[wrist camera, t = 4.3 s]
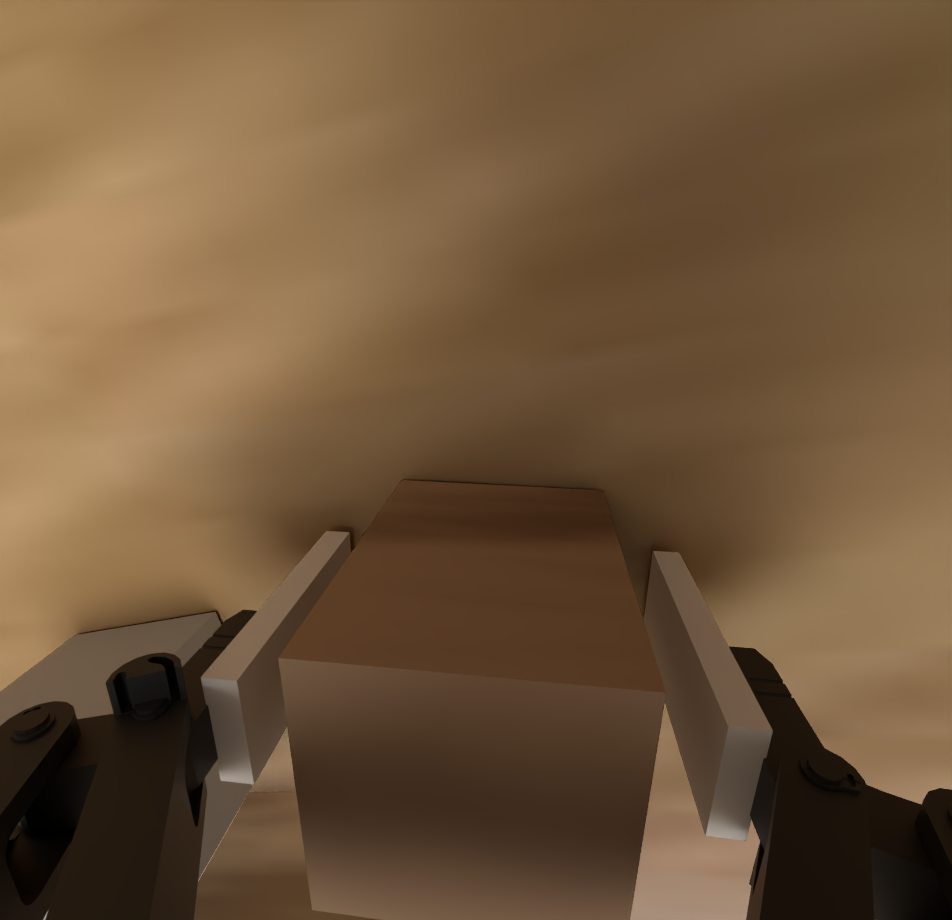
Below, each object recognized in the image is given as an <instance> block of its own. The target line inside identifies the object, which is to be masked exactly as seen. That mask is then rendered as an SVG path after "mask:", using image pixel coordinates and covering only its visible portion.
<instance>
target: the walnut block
mask: <svg viewBox="0 0 952 920" xmlns="http://www.w3.org/2000/svg"><path fill="white" fill-rule="evenodd" d="M278 660H279V667H280V675H281V682H282V690H283V697H284V705H285V712H286V720H287V727H288V735H289V742H290V749H291V757H292V764H293V772H294V779H295V787H296V794H297V802H298V809H299V816H300V824H301V831H302V839H303V846H304V854H305V861H306V869H307V876H308V883H309V891H310V898H311V906H312V910H316V911H323V912H330V913H337V914H344V915H352V916H359V917H366V918H373V919H380V920H630V916H631V910H632V904H633V897H634V891H635V885H636V878H637V872H638V866H639V860H640V853H641V847H642V841H643V835H644V828H645V822H646V816H647V809H648V803H649V797H650V791H651V784H652V778H653V772H654V765H655V759H656V753H657V747H658V740H659V734H660V728H661V721H662V715H663V709H664V703H665V696H666V691H665V688H664V684H663V681H662V678H661V675H660V672H659V668H658V665H657V662H656V659H655V655H654V652H653V649H652V646H651V643H650V639H649V636H648V633H647V630H646V627H645V623H644V620H643V617H642V614H641V611H640V607H639V604H638V601H637V598H636V595H635V591H634V588H633V585H632V582H631V578H630V575H629V572H628V569H627V566H626V562H625V559H624V556H623V553H622V550H621V546H620V543H619V540H618V537H617V534H616V530H615V527H614V524H613V521H612V517H611V514H610V511H609V508H608V505H607V501H606V498H605V495H604V492H603V490H585V489H566V488H546V487H527V486H507V485H488V484H469V483H449V482H430V481H410V480H401V482H400V483H399V485H398V486H397V488H396V489H395V490H394V492H393V493H392V495H391V496H390V498H389V499H388V501H387V502H386V503H385V505H384V506H383V508H382V509H381V511H380V512H379V513H378V515H377V516H376V518H375V519H374V521H373V522H372V524H371V525H370V526H369V528H368V529H367V531H366V532H365V534H364V535H363V537H362V538H361V539H360V541H359V542H358V544H357V545H356V547H355V548H354V550H353V551H352V552H351V554H350V555H349V557H348V558H347V560H346V561H345V562H344V564H343V565H342V567H341V568H340V570H339V571H338V573H337V574H336V575H335V577H334V578H333V580H332V581H331V583H330V584H329V586H328V587H327V588H326V590H325V591H324V593H323V594H322V596H321V597H320V598H319V600H318V601H317V603H316V604H315V606H314V607H313V609H312V610H311V611H310V613H309V614H308V616H307V617H306V619H305V620H304V622H303V623H302V624H301V626H300V627H299V629H298V630H297V632H296V633H295V634H294V636H293V637H292V639H291V640H290V642H289V643H288V645H287V646H286V647H285V649H284V650H283V652H282V653H281V655H280V656H279V658H278Z"/></svg>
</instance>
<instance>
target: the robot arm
mask: <svg viewBox="0 0 952 920" xmlns="http://www.w3.org/2000/svg"><path fill="white" fill-rule="evenodd" d="M350 554H351V546H350V532H337V531H326V532H325V533H324V534H323V535H322V536H321V538H320V539H319V540H318V541H317V542H316V543H315V545H314V546H313V547H312V548H311V549H310V550H309V552H308V553H307V554H306V555H305V556H304V557H303V559H302V560H301V561H300V562H299V563H298V564H297V566H296V567H295V568H294V569H293V570H292V571H291V573H290V574H289V575H288V576H287V577H286V578H285V580H284V581H283V582H282V583H281V584H280V585H279V587H278V588H277V589H276V590H275V591H274V592H273V594H272V595H271V596H270V597H269V598H268V599H267V601H266V602H265V603H264V604H263V605H262V606H261V608H260V609H259V610H258V611H251V610H242V611H241V612H239V613H237V614H236V615H234V616H232V617H231V618H229V619H227V620H226V621H225V622H224V623H223V624H222V625H221V626H220V627H219V628H218V629H217V630H216V631H215V632H214V633H213V636H212V637H210V638H209V639H208V640H207V641H206V642H205V643H204V644H203V645H202V648H199V650H198V651H197V652H196V653H195V654H194V655H193V656H192V657H191V658H190V659H189V660H188V661H187V662H186V664H185V665H184V666H183V667H182V665H181V660H180V658H178V657H177V656H176V655H174V654H170V653H164V652H162V653H152V654H148V655H144V656H141V657H138V658H135V659H133V660H131V661H129V662H127V663H125V664H123V665H122V666H121V667H119V668H118V669H117V670H116V671H114V672H113V673H112V674H111V675H110V677H109V678H108V680H107V681H106V687H107V691H108V694H109V698H110V702H111V706H112V709H113V714H107V715H101V716H95V717H88V718H82V719H77V717H76V713H75V710H74V707H73V706H72V705H71V704H69V703H67V702H62V701H52V702H47V703H42V704H38V705H36V706H33V707H30V708H28V709H25V710H23V711H21V712H20V713H18V714H16V715H14V716H13V717H11V718H9V719H8V720H7V721H5V722H4V723H3V724H2V725H1V726H0V920H43V919H44V917H45V915H46V913H47V912H48V913H47V916H46V919H45V920H194V914H195V905H196V896H197V886H198V877H199V867H200V858H201V848H202V839H203V829H204V820H205V810H206V801H207V787H206V781H205V777H206V776H207V774H208V773H209V771H210V770H211V768H212V767H213V765H214V764H215V762H216V761H217V765H218V770H219V775H220V780H221V781H228V782H237V783H246V784H255V782H256V780H257V778H258V777H259V775H260V773H261V771H262V770H263V768H264V766H265V764H266V763H267V761H268V759H269V757H270V755H271V754H272V752H273V750H274V748H275V747H276V745H277V743H278V741H279V740H280V738H281V736H282V734H283V733H284V731H285V729H286V727H287V720H286V712H285V705H284V697H283V690H282V682H281V675H280V667H279V660H278V658H279V656H280V655H281V653H282V652H283V650H284V649H285V647H286V646H287V645H288V643H289V642H290V640H291V639H292V637H293V636H294V634H295V633H296V632H297V630H298V629H299V627H300V626H301V624H302V623H303V622H304V620H305V619H306V617H307V616H308V614H309V613H310V611H311V610H312V609H313V607H314V606H315V604H316V603H317V601H318V600H319V598H320V597H321V596H322V594H323V593H324V591H325V590H326V588H327V587H328V586H329V584H330V583H331V581H332V580H333V578H334V577H335V575H336V574H337V573H338V571H339V570H340V568H341V567H342V565H343V564H344V562H345V561H346V560H347V558H348V557H349V555H350ZM644 623H645V627H646V630H647V633H648V636H649V639H650V643H651V646H652V649H653V652H654V655H655V659H656V662H657V665H658V668H659V672H660V675H661V678H662V681H663V684H664V688H665V691H666V696H665V704H666V707H667V711H668V714H669V717H670V721H671V724H672V727H673V730H674V734H675V737H676V740H677V744H678V747H679V750H680V754H681V757H682V760H683V763H684V767H685V770H686V773H687V777H688V780H689V783H690V786H691V790H692V793H693V796H694V800H695V803H696V806H697V810H698V813H699V816H700V819H701V823H702V826H703V829H704V833H705V836H710V837H719V838H727V839H736V840H745V841H746V839H747V835H748V831H749V826H750V822H751V819H752V822H753V824H754V827H755V829H756V832H757V834H758V837H759V839H760V844H759V848H758V852H757V856H756V859H755V863H754V867H753V871H752V875H751V879H750V883H749V884H750V885H751V886H752V887H751V893H750V899H749V905H748V912H747V918H746V920H952V790H949V789H942V788H940V789H936V790H932V791H929V792H928V793H927V795H926V797H925V798H924V800H923V803H922V805H921V804H918V803H915V802H912V801H909V800H906V799H903V798H900V797H897V796H895V795H892V794H889V793H886V792H883V791H880V790H878V789H875V788H873V787H871V786H868V785H866V783H865V781H864V779H863V778H862V777H861V775H860V774H859V773H858V772H857V770H856V769H855V768H854V767H853V766H851V765H850V764H849V763H848V762H847V761H845V760H844V759H843V758H842V757H840V756H838V755H836V754H834V753H832V752H830V751H829V750H827V749H825V748H824V747H823V745H822V744H821V742H820V740H819V739H818V737H817V735H816V734H815V732H814V731H813V729H812V727H811V726H810V724H809V723H808V721H807V719H806V718H805V716H804V714H803V713H802V711H801V710H800V708H799V706H798V705H797V703H796V701H795V700H794V698H792V697H791V693H790V692H789V690H788V688H787V687H786V685H785V684H783V680H782V679H781V677H780V676H779V674H778V672H777V671H776V669H775V667H774V666H773V664H772V663H771V662H770V661H768V660H767V659H766V658H765V657H764V656H762V655H761V654H760V653H759V652H758V651H757V650H755V649H753V648H741V647H729V646H728V644H727V643H726V641H725V639H724V637H723V635H722V633H721V631H720V629H719V627H718V625H717V623H716V622H715V620H714V618H713V616H712V614H711V612H710V610H709V608H708V606H707V604H706V603H705V601H704V599H703V597H702V595H701V593H700V591H699V589H698V587H697V585H696V584H695V582H694V580H693V578H692V576H691V574H690V572H689V570H688V568H687V566H686V565H685V563H684V561H683V559H682V557H681V555H680V553H679V552H664V551H653V553H652V561H651V568H650V576H649V583H648V591H647V599H646V606H645V614H644Z"/></svg>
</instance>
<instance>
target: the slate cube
mask: <svg viewBox="0 0 952 920" xmlns="http://www.w3.org/2000/svg"><path fill="white" fill-rule="evenodd" d="M220 626H221V623H220V621H219V619H218V616H217V614H216V612H211V613H205V614H199V615H193V616H187V617H181V618H175V619H169V620H163V621H157V622H151V623H145V624H139V625H133V626H127V627H121V628H115V629H109V630H103V631H97V632H91V633H85V634H79V635H74V636H73V637H72V638H70V639H69V640H68V641H67V642H65V643H64V644H63V645H61V646H60V647H59V648H57V649H56V650H55V651H53V652H52V653H51V654H49V655H48V656H47V657H45V658H44V659H43V660H41V661H40V662H39V663H38V664H36V665H35V666H34V667H32V668H31V669H30V670H28V671H27V672H26V673H24V674H23V675H22V676H20V677H19V678H18V679H16V680H15V681H14V682H12V683H11V684H10V685H8V686H7V687H6V688H5V689H3V690H2V691H1V692H0V726H1V725H2V724H3V723H4V722H5V721H7V720H8V719H9V718H11V717H13V716H14V715H16V714H18V713H20V712H21V711H23V710H25V709H28V708H30V707H33V706H36V705H38V704H42V703H47V702H52V701H62V702H67V703H69V704H71V705H72V706H73V707H74V710H75V713H76V717H77V719H82V718H88V717H95V716H101V715H107V714H113V709H112V706H111V702H110V698H109V694H108V691H107V687H106V681H107V680H108V678H109V677H110V675H111V674H112V673H113V672H114V671H116V670H117V669H118V668H119V667H121V666H122V665H123V664H125V663H127V662H129V661H131V660H133V659H135V658H138V657H141V656H144V655H148V654H152V653H162V652H164V653H170V654H174V655H176V656H177V657H178V658H180V660H181V665H182V667H183V666H184V665H185V664H186V662H187V661H188V660H189V659H190V658H191V657H192V656H193V655H194V654H195V653H196V652H197V651H198V650H199V648H202V645H203V644H204V643H205V642H206V641H207V640H208V639H209V638H210V637H212V636H213V633H214V632H215V631H216V630H217V629H218V628H219V627H220ZM205 781H206V787H207V801H206V810H205V820H204V829H203V839H202V848H201V858H200V867H199V877H198V880H199V878H200V876H201V874H202V873H203V871H204V869H205V867H206V866H207V864H208V862H209V860H210V859H211V857H212V855H213V853H214V852H215V850H216V848H217V846H218V845H219V843H220V841H221V839H222V838H223V836H224V834H225V832H226V831H227V829H228V827H229V825H230V824H231V822H232V820H233V818H234V817H235V815H236V813H237V811H238V810H239V808H240V806H241V804H242V803H243V801H244V799H245V797H246V796H247V794H248V792H249V790H250V789H251V787H252V785H253V784H246V783H237V782H228V781H221V780H220V775H219V770H218V765H217V761H216V762H215V764H214V765H213V767H212V768H211V770H210V771H209V773H208V774H207V776H206V777H205ZM47 913H48V912H47ZM47 913H46V915H45V917H44V919H43V920H45V919H46V916H47Z"/></svg>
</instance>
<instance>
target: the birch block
mask: <svg viewBox="0 0 952 920" xmlns="http://www.w3.org/2000/svg"><path fill="white" fill-rule="evenodd" d="M194 920H380V919H373V918H366V917H359V916H352V915H344V914H337V913H330V912H323V911H316V910H312V906H311V898H310V891H309V883H308V876H307V869H306V861H305V854H304V846H303V839H302V831H301V824H300V816H299V809H298V802H297V794H296V792H249V794H248V796H247V797H246V799H245V801H244V803H243V804H242V806H241V808H240V810H239V811H238V813H237V815H236V817H235V818H234V820H233V822H232V824H231V825H230V827H229V829H228V831H227V832H226V834H225V836H224V838H223V839H222V841H221V843H220V845H219V846H218V848H217V850H216V852H215V853H214V855H213V857H212V859H211V860H210V862H209V864H208V866H207V867H206V869H205V871H204V873H203V874H202V876H201V878H200V880H199V881H198V886H197V896H196V905H195V914H194Z"/></svg>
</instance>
